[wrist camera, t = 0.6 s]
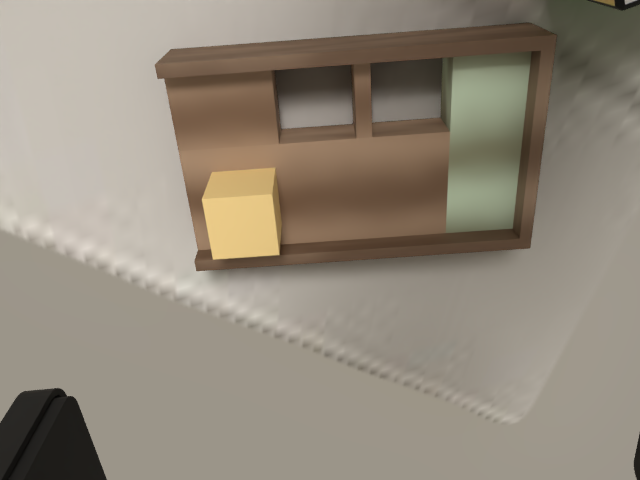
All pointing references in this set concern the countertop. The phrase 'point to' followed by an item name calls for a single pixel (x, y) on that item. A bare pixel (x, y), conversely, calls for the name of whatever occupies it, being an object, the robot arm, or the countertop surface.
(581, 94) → the countertop surface
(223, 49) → the box
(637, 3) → the puzzle cube
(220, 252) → the block
